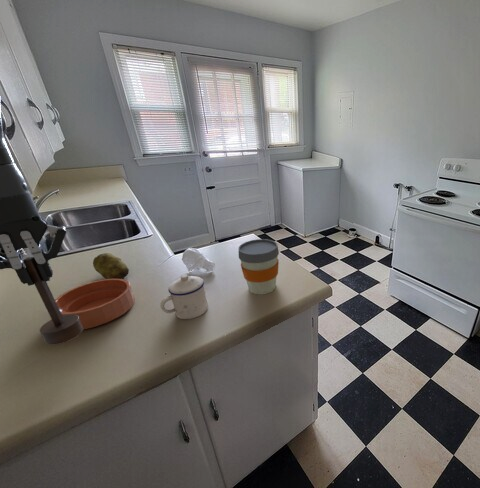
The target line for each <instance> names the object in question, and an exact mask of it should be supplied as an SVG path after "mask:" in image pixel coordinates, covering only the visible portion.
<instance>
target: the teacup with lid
mask: <svg viewBox="0 0 480 488" xmlns="http://www.w3.org/2000/svg"><path fill="white" fill-rule="evenodd" d="M168 293H169V296H167V297H165V298H163V299H162V300H161V301H160V309H161V310H162V312H164V313H166V314H174V313H175V315H176V317H177V318H179V319H181V320H191V319H196V318H197V317H201V316H202V315H203V314H204V313H205V312H207V310H208V309H209V303H208V299H207V294H206V288H205V280H204V279H203V278H202V277H200V276H196V275H188V274H182V275H181V276H180V278H178V279H176V280H174V281H173V282H171V283H170V285H169V286H168ZM170 300H171V301H172V305H173V308H172V309H171V308H170V309H166V308H165V305H166V303H167V302H168V301H170Z"/></svg>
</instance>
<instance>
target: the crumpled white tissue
mask: <svg viewBox="0 0 480 488" xmlns="http://www.w3.org/2000/svg"><path fill="white" fill-rule="evenodd" d="M181 262H182V263H183V265H184V266H185V267H186V269H187V271H188V272H189V271H192V270H196V269H203V270H204V272H205V273H207V272H208V273H211V272H210V271H212V272H213V271H214V270H215V269H216V263H215V262H214V261H212V260H210V259H208V257H207V256H206V255H204V253H202V252H201V250H198V249H197V248H194V247H188V248H186V249H185V250H184V251H183V253H182V256H181ZM192 272H193V271H192Z"/></svg>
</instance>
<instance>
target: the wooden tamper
mask: <svg viewBox="0 0 480 488" xmlns="http://www.w3.org/2000/svg"><path fill="white" fill-rule="evenodd" d="M23 262H24V264H25V266H26V268H27V270H28V272H29V274H30V276H31V278H32V280H33V282H34V286H35V289H36V290H37V293H38V295H39V296H40V298H41V300H42V303H43V304H44V307H45V309H46V310H47V313H48V314H49V315H48V316H49V317H50V320H48V321H46V322H45V323H44V324H42V326H41V327H40V328H39V333H40V334H41V336H42V337H43V340H44V342H45V343H46V344H47V345H49V346H56V345H60V344H63V343H66V342H70V341H71V340H73V339H75V338H77V337H78V336H79V335H81V333H82V332H83V331H84V329H83V326H82V323H81V321H80V319H79V317H78V315H75V314H68V315H63V316H62V314H61V312H60V310H59V308H58V306H57V304H56V301H55V299H56V298H55V297H54V295H53V293H52V290H51V289H50V287H49V284H48V281H46V282H45V281H44V280H43V277H42V275H41V273H40V271H39V269H38V267H37V262H36V260H35V258H34V257H33V256H29V257H26V258H23Z"/></svg>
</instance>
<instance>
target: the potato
mask: <svg viewBox="0 0 480 488" xmlns="http://www.w3.org/2000/svg"><path fill="white" fill-rule="evenodd" d="M92 264H93V265H92V266H93V268H94V270H95V271H96V273H98V274H100V275H101V276H102V277H103V278H104V279H124V278H126V277H127V276H128V275H129V273H130V269H129V267H128V266H127V265H126V263H125V262H124V261H123V260H122V259H121V258H120V257H118V256H115V255H114V254H112V253H109V252H108V253H106V252H105V253H100V254H98V255H97V256H95V257H94V259H92Z"/></svg>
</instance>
